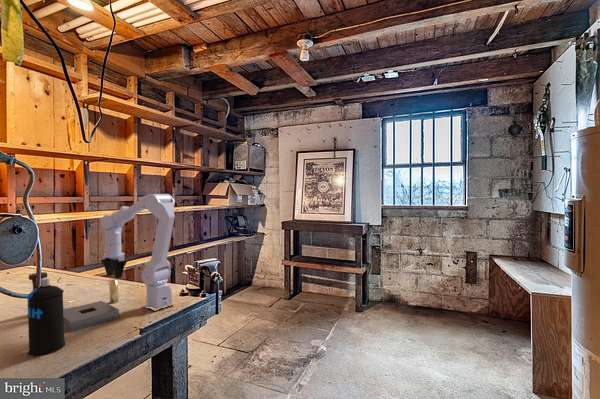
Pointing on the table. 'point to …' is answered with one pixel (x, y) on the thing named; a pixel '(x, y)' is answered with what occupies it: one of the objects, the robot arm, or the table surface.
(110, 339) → the table surface
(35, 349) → the aerosol can
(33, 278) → the bolt
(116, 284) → the brass pin
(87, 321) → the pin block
